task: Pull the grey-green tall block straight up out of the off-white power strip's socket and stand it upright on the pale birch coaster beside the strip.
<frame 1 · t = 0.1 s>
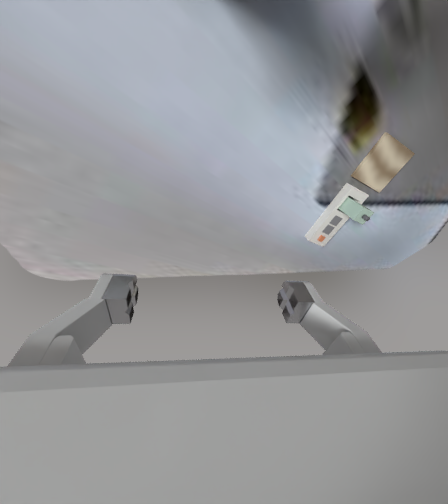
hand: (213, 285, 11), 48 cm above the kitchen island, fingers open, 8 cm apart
power strip: (331, 215, 66), on the kitchen island
coaster: (380, 164, 58), on the kitchen island
grey-green tall block: (342, 201, 64), resting in power strip
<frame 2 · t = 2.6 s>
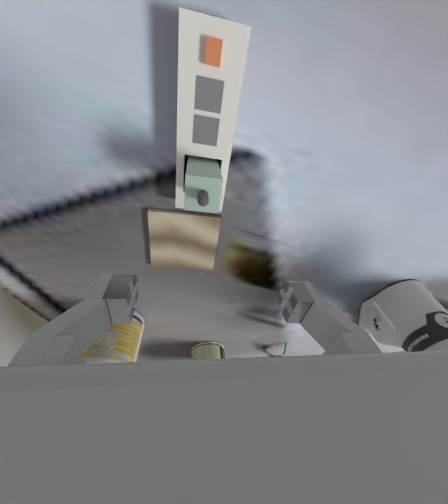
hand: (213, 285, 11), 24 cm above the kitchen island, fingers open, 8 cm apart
coffee can: (207, 349, 62), on the kitchen island
power strip: (204, 132, 28), on the kitchen island
coaster: (184, 241, 38), on the kitchen island
supplement tub: (119, 318, 49), on the kitchen island
grey-green tall block: (201, 170, 30), resting in power strip
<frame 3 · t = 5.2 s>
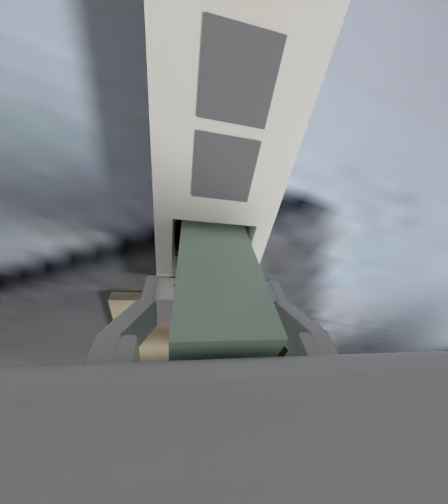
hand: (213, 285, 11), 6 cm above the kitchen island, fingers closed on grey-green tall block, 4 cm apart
power strip: (217, 164, 13), on the kitchen island
coaster: (177, 329, 23), on the kitchen island
grey-green tall block: (208, 232, 16), resting in power strip, touching gripper
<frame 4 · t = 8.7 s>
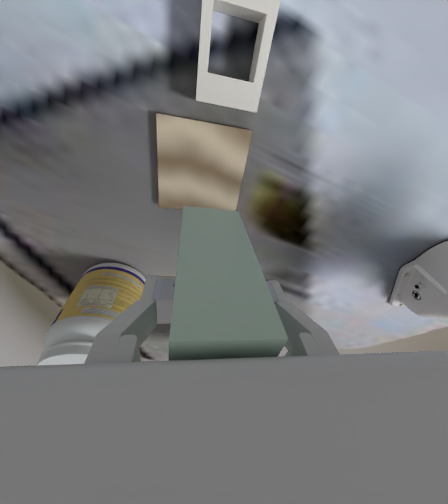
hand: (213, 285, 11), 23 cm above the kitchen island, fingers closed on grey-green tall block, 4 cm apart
coaster: (201, 170, 29), on the kitchen island
supplement tub: (118, 282, 41), on the kitchen island
grey-green tall block: (208, 232, 16), point 17 cm above the kitchen island, touching gripper
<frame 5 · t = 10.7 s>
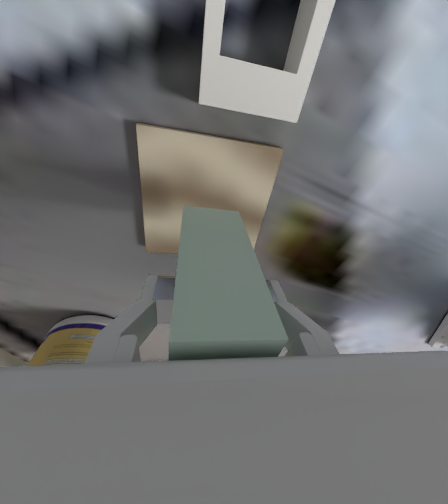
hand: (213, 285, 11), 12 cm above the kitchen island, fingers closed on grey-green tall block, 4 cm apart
coaster: (206, 202, 21), on the kitchen island
supplement tub: (98, 334, 32), on the kitchen island
grey-green tall block: (208, 232, 16), point 6 cm above the kitchen island, touching gripper
when the fingers open (8 cm above the kitchen island, at t = 12.2 s): grey-green tall block drops 1 cm, resting on coaster.
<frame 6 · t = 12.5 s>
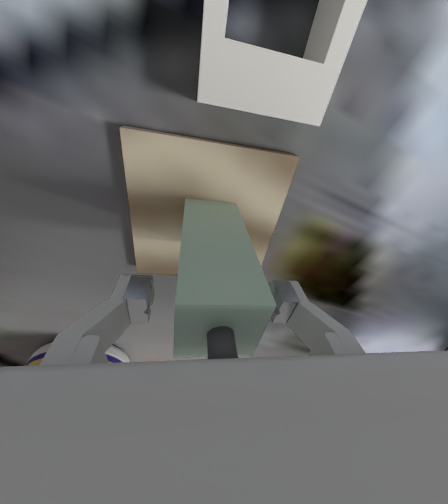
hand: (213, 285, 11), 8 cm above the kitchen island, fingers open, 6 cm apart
coaster: (206, 217, 18), on the kitchen island
supplement tub: (87, 356, 29), on the kitchen island
grey-green tall block: (208, 223, 17), point 1 cm above the kitchen island, touching coaster
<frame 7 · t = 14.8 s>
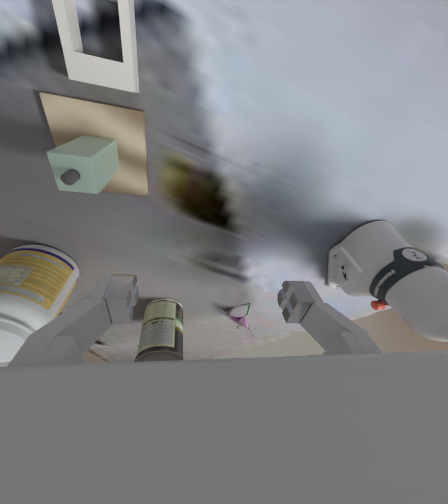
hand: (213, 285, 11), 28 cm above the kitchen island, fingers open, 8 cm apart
coffee can: (164, 309, 56), on the kitchen island
coaster: (104, 151, 30), on the kitchen island
supplement tub: (48, 265, 42), on the kitchen island
lily: (237, 309, 61), on the kitchen island
grey-green tall block: (103, 152, 30), point 1 cm above the kitchen island, touching coaster
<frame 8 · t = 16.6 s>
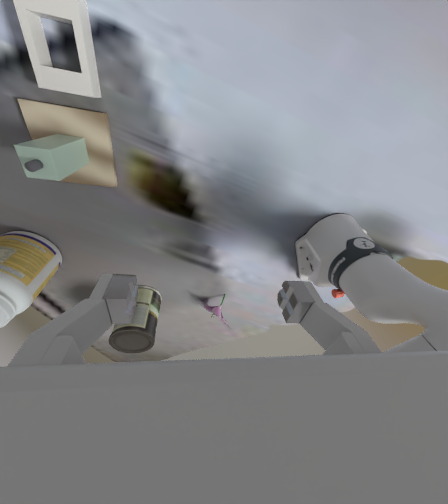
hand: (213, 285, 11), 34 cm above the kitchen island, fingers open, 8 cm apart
coffee can: (144, 296, 60), on the kitchen island
coaster: (76, 147, 35), on the kitchen island
supplement tub: (34, 250, 47), on the kitchen island
lily: (214, 299, 64), on the kitchen island
grey-green tall block: (74, 149, 35), point 1 cm above the kitchen island, touching coaster
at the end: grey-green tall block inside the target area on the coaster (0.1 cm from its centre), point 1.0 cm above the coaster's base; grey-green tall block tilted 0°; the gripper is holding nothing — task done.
